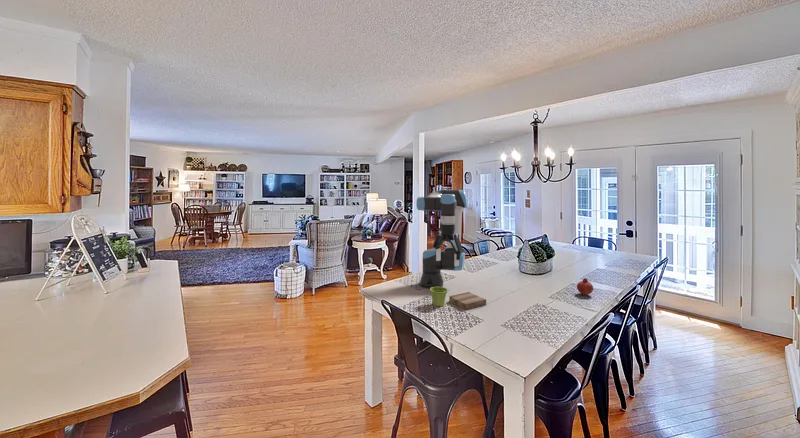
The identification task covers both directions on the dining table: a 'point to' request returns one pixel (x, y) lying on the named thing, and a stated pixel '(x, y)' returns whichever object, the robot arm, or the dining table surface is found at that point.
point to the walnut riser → (467, 300)
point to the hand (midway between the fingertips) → (447, 263)
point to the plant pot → (438, 295)
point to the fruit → (585, 287)
